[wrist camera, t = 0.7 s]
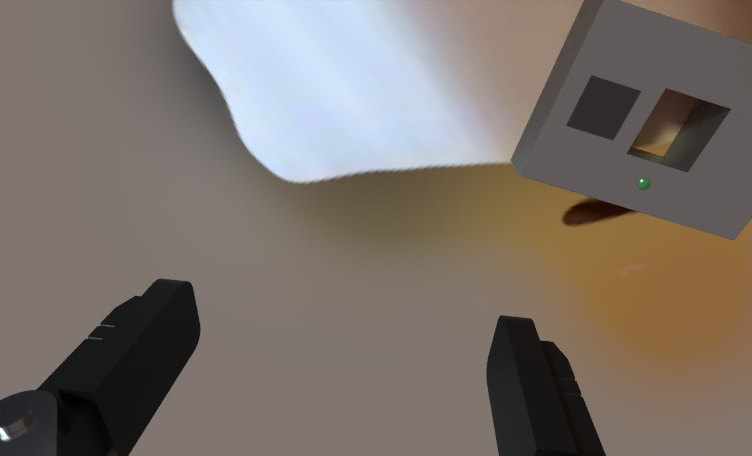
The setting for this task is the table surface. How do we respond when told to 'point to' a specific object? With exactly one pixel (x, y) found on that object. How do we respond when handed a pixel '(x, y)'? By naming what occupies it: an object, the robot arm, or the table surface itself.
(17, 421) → the robot arm
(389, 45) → the table surface
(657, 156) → the port panel
